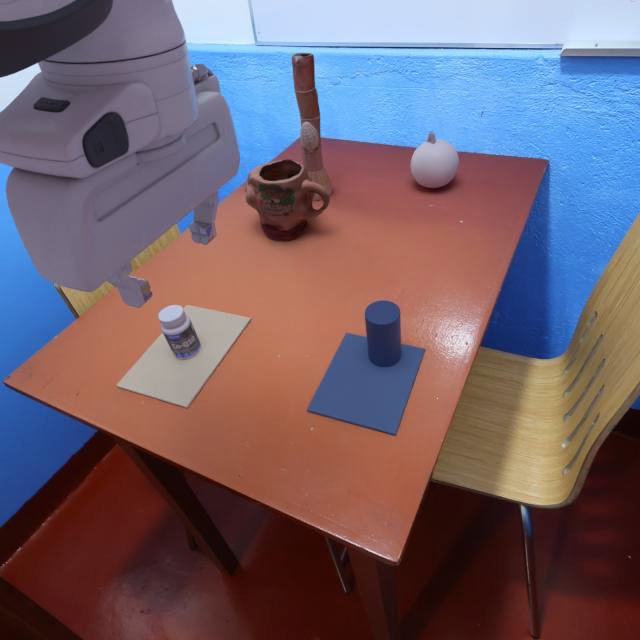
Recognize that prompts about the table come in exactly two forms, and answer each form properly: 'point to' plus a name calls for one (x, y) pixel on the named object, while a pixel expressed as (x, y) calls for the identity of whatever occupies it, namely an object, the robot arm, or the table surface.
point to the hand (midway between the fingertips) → (174, 268)
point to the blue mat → (366, 386)
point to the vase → (309, 120)
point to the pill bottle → (179, 332)
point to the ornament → (434, 162)
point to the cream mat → (185, 374)
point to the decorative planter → (283, 198)
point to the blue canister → (383, 333)
